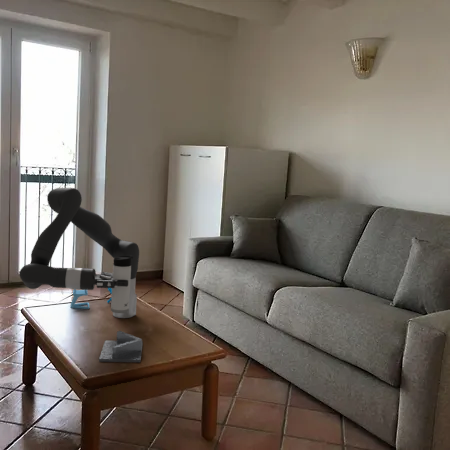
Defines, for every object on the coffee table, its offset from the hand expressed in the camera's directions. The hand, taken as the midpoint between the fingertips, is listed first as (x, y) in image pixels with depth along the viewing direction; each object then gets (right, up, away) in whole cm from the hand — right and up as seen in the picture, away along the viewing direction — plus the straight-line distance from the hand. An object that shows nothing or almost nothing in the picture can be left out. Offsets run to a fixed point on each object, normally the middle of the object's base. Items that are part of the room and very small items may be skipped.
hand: (128, 280), depth 184 cm
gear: (-19, -18, +65) cm, 70 cm away
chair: (-33, -18, +55) cm, 66 cm away
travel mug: (-3, -11, +1) cm, 11 cm away
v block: (-4, -26, +3) cm, 26 cm away
